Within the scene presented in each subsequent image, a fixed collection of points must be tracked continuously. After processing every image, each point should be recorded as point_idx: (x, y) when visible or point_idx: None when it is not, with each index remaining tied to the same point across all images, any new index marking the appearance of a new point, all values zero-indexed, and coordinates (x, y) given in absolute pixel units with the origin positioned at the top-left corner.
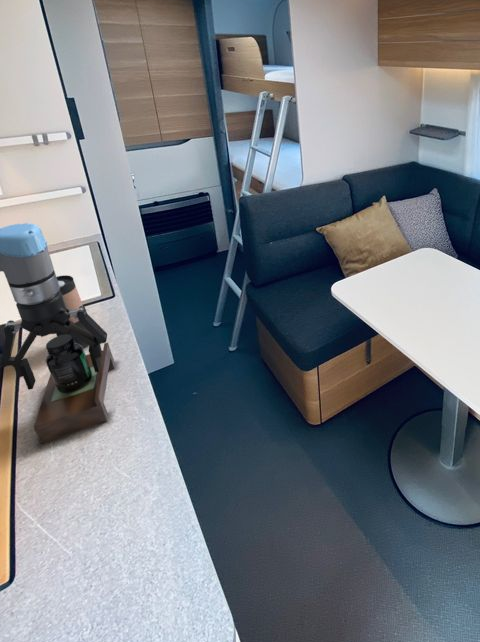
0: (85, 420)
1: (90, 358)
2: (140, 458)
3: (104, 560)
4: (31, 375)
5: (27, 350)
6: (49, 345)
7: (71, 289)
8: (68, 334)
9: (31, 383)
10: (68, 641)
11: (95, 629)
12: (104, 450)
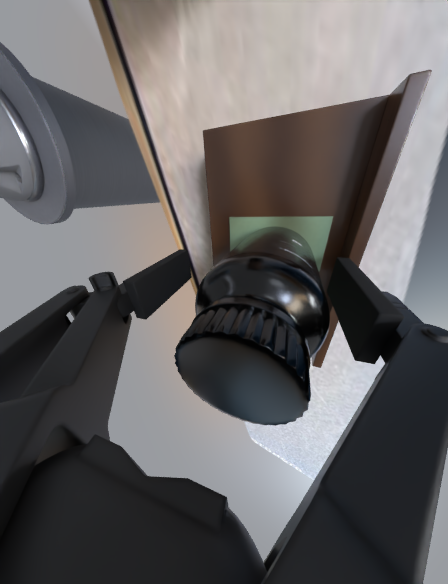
0: None
1: (314, 149)
2: (343, 396)
3: (294, 433)
4: (175, 271)
5: (119, 368)
6: (193, 381)
7: None
8: (283, 359)
9: (184, 280)
10: (274, 443)
11: (287, 449)
12: None
